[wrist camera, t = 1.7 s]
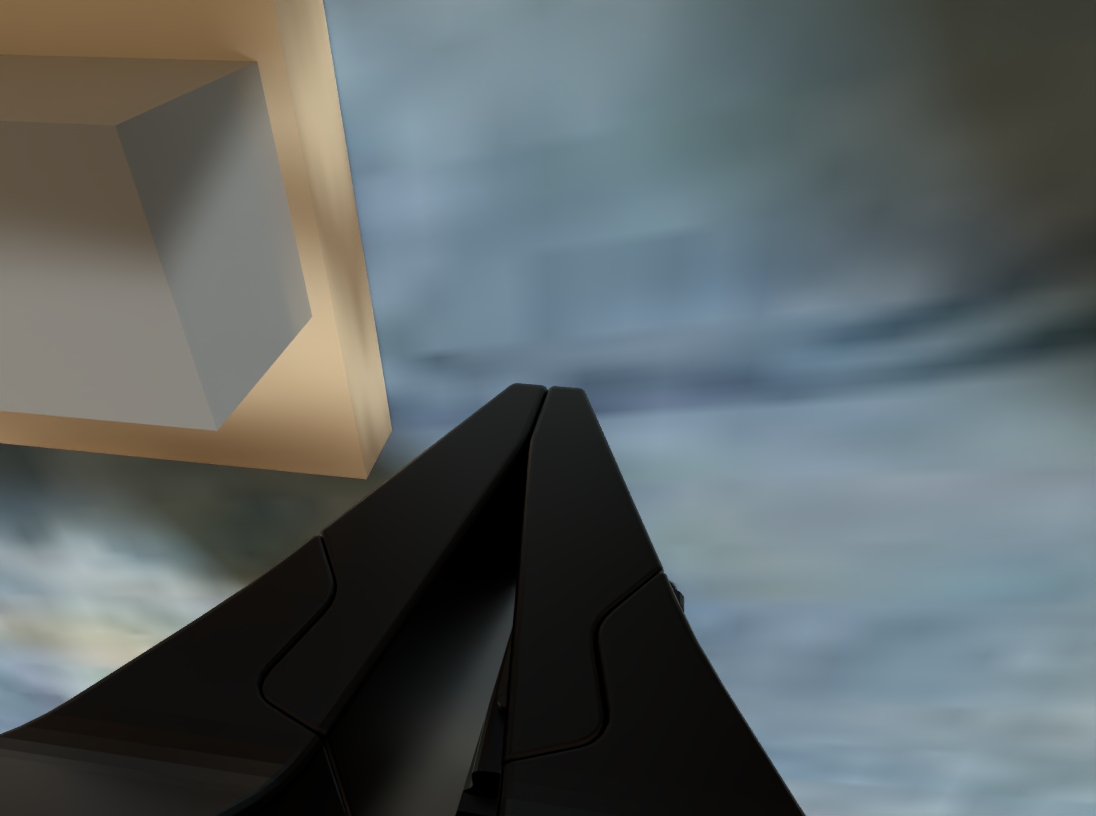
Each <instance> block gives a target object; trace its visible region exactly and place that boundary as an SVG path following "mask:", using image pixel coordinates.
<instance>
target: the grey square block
mask: <svg viewBox="0 0 1096 816" xmlns="http://www.w3.org/2000/svg"><path fill="white" fill-rule="evenodd" d="M311 318H312V313H311V308H310V303H309V299H308V294H307V289H306V285H305V280H304V276H303V271H302V266H301V262H300V257H299V252H298V248H297V243H296V238H295V234H294V229H293V225H292V220H291V215H290V211H289V206H288V201H287V197H286V192H285V188H284V183H283V178H282V174H281V169H280V164H279V160H278V155H277V150H276V146H275V141H274V137H273V132H272V127H271V123H270V118H269V113H268V109H267V104H266V100H265V95H264V90H263V86H262V81H261V76H260V72H259V67H258V62H257V61H229V60H192V59H154V58H116V57H79V56H41V55H4V54H0V411H9V412H20V413H30V414H41V415H52V416H63V417H74V418H84V419H95V420H106V421H117V422H128V423H138V424H149V425H160V426H171V427H181V428H192V429H203V430H214V431H218V429H219V428H220V427H221V426H222V425H223V423H224V422H225V421H226V420H227V419H228V417H229V416H230V415H231V414H232V413H233V411H234V410H235V409H236V408H237V407H238V405H239V404H240V403H241V402H242V401H243V399H244V398H245V397H246V396H247V395H248V393H249V392H250V391H251V390H252V389H253V387H254V386H255V385H256V384H257V383H258V381H259V380H260V379H261V378H262V377H263V375H264V374H265V373H266V372H267V371H268V369H269V368H270V367H271V366H272V365H273V363H274V362H275V361H276V360H277V359H278V357H279V356H280V355H281V354H282V353H283V351H284V350H285V349H286V348H287V347H288V345H289V344H290V343H291V342H292V341H293V339H294V338H295V337H296V336H297V335H298V333H299V332H300V331H301V330H302V329H303V327H304V326H305V325H306V324H307V323H308V321H309V320H310V319H311Z"/></svg>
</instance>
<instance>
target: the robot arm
mask: <svg viewBox="0 0 1096 816" xmlns="http://www.w3.org/2000/svg"><path fill="white" fill-rule="evenodd" d="M0 816H806V815H805V814H804V812H803V811H802V809H801V808H800V806H799V804H798V803H797V801H796V800H795V798H794V797H793V795H792V793H791V792H790V790H789V789H788V787H787V785H786V784H785V782H784V781H783V779H782V777H781V776H780V774H779V773H778V771H777V770H776V768H775V766H774V765H773V763H772V762H771V760H770V758H769V757H768V755H767V754H766V752H765V750H764V749H763V747H762V746H761V744H760V743H759V741H758V739H757V738H756V736H755V735H754V733H753V731H752V730H751V728H750V727H749V725H748V723H747V722H746V720H745V719H744V717H743V716H742V714H741V712H740V711H739V709H738V708H737V706H736V704H735V703H734V701H733V700H732V698H731V696H730V695H729V693H728V692H727V690H726V689H725V687H724V685H723V684H722V682H721V680H720V678H719V677H718V675H717V673H716V672H715V670H714V668H713V666H712V665H711V663H710V661H709V660H708V658H707V656H706V654H705V653H704V651H703V649H702V648H701V646H700V644H699V643H698V641H697V639H696V637H695V635H694V633H693V631H692V628H691V626H690V624H689V622H688V620H687V618H686V616H685V614H684V596H683V595H682V594H681V593H680V592H679V591H677V590H676V589H672V586H671V584H670V582H669V580H668V577H667V575H666V574H664V570H663V567H662V565H661V562H660V560H659V558H658V556H657V553H656V551H655V549H654V547H653V544H652V542H651V540H650V537H649V535H648V533H647V531H646V528H645V526H644V524H643V522H642V519H641V517H640V515H639V513H638V510H637V508H636V506H635V504H634V501H633V499H632V497H631V494H630V492H629V490H628V488H627V485H626V483H625V481H624V479H623V476H622V474H621V472H620V470H619V467H618V465H617V463H616V461H615V458H614V456H613V454H612V451H611V449H610V447H609V445H608V442H607V440H606V438H605V436H604V433H603V431H602V429H601V427H600V424H599V422H598V420H597V418H596V415H595V413H594V411H593V408H592V406H591V404H590V402H589V399H588V397H587V395H586V393H585V391H584V390H583V389H581V388H571V387H558V386H553V387H551V388H549V390H547V388H546V387H545V386H543V385H533V384H521V383H515V384H512V385H510V386H509V387H507V388H506V389H505V390H504V391H502V392H501V393H500V394H498V395H497V396H496V397H494V398H493V399H492V400H491V401H489V402H488V403H487V404H485V405H484V406H483V407H481V408H480V409H479V410H478V411H476V412H475V413H474V414H472V415H471V416H470V417H468V418H467V419H466V420H465V421H463V422H462V423H461V424H459V425H458V426H457V427H455V428H454V429H453V430H452V431H450V432H449V433H448V434H446V435H445V436H444V437H442V438H441V439H440V440H439V441H437V442H436V443H435V444H433V445H432V446H431V447H429V448H428V449H427V450H426V451H424V452H423V453H422V454H420V455H419V456H418V457H416V458H415V459H414V460H413V461H411V462H410V463H409V464H407V465H406V466H405V467H403V468H402V469H401V470H399V471H398V472H397V473H396V474H394V475H393V476H392V477H390V478H389V479H388V480H386V481H385V482H384V483H383V484H381V485H380V486H379V487H377V488H376V489H375V490H373V491H372V492H371V493H370V494H368V495H367V496H366V497H364V498H363V499H362V500H360V501H359V502H358V503H357V504H355V505H354V506H353V507H351V508H350V509H349V510H347V511H346V512H345V513H344V514H342V515H341V516H340V517H338V518H337V519H336V520H334V521H333V522H332V523H331V524H329V525H328V526H327V527H325V528H324V529H323V530H322V531H321V536H319V535H315V536H313V537H312V538H311V539H309V540H308V541H307V542H305V543H304V544H303V545H301V546H300V547H299V548H298V549H296V550H295V551H294V552H292V553H291V554H290V555H288V556H287V557H286V558H284V559H283V560H282V561H280V562H279V563H277V564H276V565H275V566H273V567H272V568H271V569H269V570H268V571H266V572H265V573H264V574H262V575H261V576H260V577H258V578H257V579H256V580H254V581H253V582H251V583H250V584H249V585H247V586H246V587H244V588H243V589H241V590H240V591H238V592H237V593H235V594H234V595H232V596H231V597H229V598H228V599H226V600H225V601H223V602H222V603H220V604H219V605H217V606H216V607H214V608H213V609H211V610H210V611H208V612H207V613H205V614H204V615H202V616H201V617H199V618H198V619H196V620H194V621H193V622H191V623H190V624H188V625H187V626H185V627H183V628H182V629H180V630H179V631H177V632H175V633H174V634H172V635H171V636H169V637H168V638H166V639H164V640H163V641H161V642H160V643H158V644H157V645H155V646H153V647H152V648H150V649H149V650H147V651H146V652H144V653H142V654H141V655H139V656H138V657H136V658H135V659H133V660H131V661H130V662H128V663H127V664H125V665H124V666H122V667H120V668H119V669H117V670H116V671H114V672H112V673H111V674H109V675H108V676H106V677H105V678H103V679H101V680H100V681H98V682H97V683H95V684H94V685H92V686H90V687H89V688H87V689H86V690H84V691H83V692H81V693H79V694H78V695H76V696H75V697H73V698H72V699H70V700H68V701H66V702H65V703H63V704H61V705H60V706H58V707H56V708H55V709H53V710H51V711H49V712H48V713H46V714H44V715H42V716H40V717H38V718H36V719H34V720H32V721H30V722H28V723H26V724H24V725H22V726H20V727H17V728H15V729H12V730H10V731H7V732H5V733H2V734H0Z"/></svg>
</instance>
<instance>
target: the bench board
mask: <svg viewBox="0 0 1096 816" xmlns="http://www.w3.org/2000/svg"><path fill="white" fill-rule="evenodd" d="M0 54H4V55H41V56H79V57H116V58H154V59H192V60H229V61H257V62H258V67H259V72H260V76H261V81H262V86H263V90H264V95H265V100H266V104H267V109H268V113H269V118H270V123H271V127H272V132H273V137H274V141H275V146H276V150H277V155H278V160H279V164H280V169H281V174H282V178H283V183H284V188H285V192H286V197H287V201H288V206H289V211H290V215H291V220H292V225H293V229H294V234H295V238H296V243H297V248H298V252H299V257H300V262H301V266H302V271H303V276H304V280H305V285H306V289H307V294H308V299H309V303H310V308H311V313H312V318H311V319H310V320H309V321H308V323H307V324H306V325H305V326H304V327H303V329H302V330H301V331H300V332H299V333H298V335H297V336H296V337H295V338H294V339H293V341H292V342H291V343H290V344H289V345H288V347H287V348H286V349H285V350H284V351H283V353H282V354H281V355H280V356H279V357H278V359H277V360H276V361H275V362H274V363H273V365H272V366H271V367H270V368H269V369H268V371H267V372H266V373H265V374H264V375H263V377H262V378H261V379H260V380H259V381H258V383H257V384H256V385H255V386H254V387H253V389H252V390H251V391H250V392H249V393H248V395H247V396H246V397H245V398H244V399H243V401H242V402H241V403H240V404H239V405H238V407H237V408H236V409H235V410H234V411H233V413H232V414H231V415H230V416H229V417H228V419H227V420H226V421H225V422H224V423H223V425H222V426H221V427H220V428H219V429H218V431H214V430H203V429H192V428H181V427H171V426H160V425H149V424H138V423H128V422H117V421H106V420H95V419H84V418H74V417H63V416H52V415H41V414H30V413H20V412H9V411H0V443H4V444H14V445H24V446H34V447H44V448H54V449H64V450H75V451H85V452H95V453H105V454H115V455H125V456H135V457H145V458H156V459H166V460H176V461H186V462H196V463H206V464H216V465H227V466H237V467H247V468H257V469H267V470H277V471H287V472H297V473H308V474H318V475H328V476H338V477H348V478H358V479H367V477H368V475H369V474H370V472H371V470H372V468H373V466H374V464H375V462H376V460H377V458H378V456H379V454H380V453H381V451H382V449H383V447H384V445H385V443H386V441H387V439H388V437H389V435H390V433H391V432H392V426H391V420H390V414H389V408H388V401H387V395H386V389H385V383H384V377H383V370H382V364H381V358H380V352H379V346H378V339H377V333H376V327H375V321H374V315H373V308H372V302H371V296H370V290H369V284H368V277H367V271H366V265H365V259H364V253H363V246H362V240H361V234H360V228H359V222H358V215H357V209H356V203H355V197H354V191H353V184H352V178H351V172H350V166H349V160H348V153H347V147H346V141H345V135H344V129H343V122H342V116H341V110H340V104H339V98H338V91H337V85H336V79H335V73H334V67H333V60H332V54H331V48H330V42H329V36H328V29H327V23H326V17H325V11H324V5H323V0H0Z"/></svg>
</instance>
